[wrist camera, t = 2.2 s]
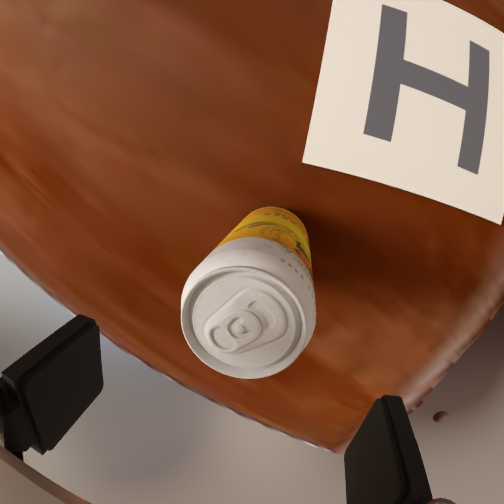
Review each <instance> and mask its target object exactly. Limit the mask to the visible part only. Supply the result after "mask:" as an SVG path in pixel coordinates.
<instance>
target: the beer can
mask: <svg viewBox="0 0 504 504" xmlns="http://www.w3.org/2000/svg"><path fill="white" fill-rule="evenodd" d="M315 323H316V305H315V294H314V284H313V274H312V265H311V256H310V247H309V239H308V234H307V231H306V228H305V226H304V225H303V223H302V222H301V220H300V219H299V218H298V217H297V216H296V215H294V214H293V213H291V212H290V211H288V210H286V209H283V208H279V207H263V208H260V209H257V210H255V211H253V212H251V213H250V214H249V215H248V216H246V217H245V218H244V219H243V220H242V221H241V222H240V223H239V224H238V225H237V226H236V227H235V229H234V230H233V231H232V232H231V233H230V234H229V235H228V236H227V237H226V238H225V239H224V240H223V241H222V242H221V243H220V244H219V245H218V246H217V247H216V248H215V249H214V250H213V251H212V252H211V253H210V254H209V255H208V256H207V257H206V258H205V259H204V260H203V261H202V262H201V263H200V265H199V266H198V267H197V268H196V269H195V270H194V271H193V272H192V274H191V275H190V276H189V278H188V280H187V282H186V284H185V286H184V289H183V293H182V298H181V325H182V330H183V334H184V336H185V339H186V341H187V343H188V345H189V346H190V348H191V349H192V351H193V352H194V353H195V354H196V356H197V357H198V358H199V359H200V360H202V361H203V362H204V363H205V364H207V365H208V366H209V367H211V368H213V369H214V370H216V371H218V372H221V373H223V374H226V375H229V376H232V377H237V378H245V379H254V378H263V377H267V376H270V375H273V374H276V373H278V372H280V371H282V370H283V369H285V368H286V367H288V366H289V365H290V364H291V363H292V362H293V361H294V360H295V359H296V358H297V357H298V355H299V354H300V353H301V351H302V350H303V349H304V348H305V347H306V345H307V344H308V342H309V340H310V339H311V337H312V334H313V331H314V328H315Z"/></svg>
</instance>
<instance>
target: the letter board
mask: <svg viewBox="0 0 504 504" xmlns="http://www.w3.org/2000/svg"><path fill="white" fill-rule="evenodd" d="M302 163H307V164H311V165H315V166H319V167H324V168H328V169H332V170H336V171H340V172H343V173H347V174H351V175H355V176H358V177H362V178H366V179H369V180H373V181H376V182H380V183H383V184H386V185H390V186H393V187H396V188H400V189H403V190H406V191H409V192H412V193H415V194H418V195H422V196H425V197H428V198H430V199H433V200H436V201H439V202H442V203H445V204H448V205H451V206H453V207H456V208H459V209H462V210H464V211H467V212H469V213H472V214H475V215H477V216H480V217H482V218H485V219H487V220H490V221H492V222H495V223H497V224H500V225H501V222H502V218H503V214H504V33H502V32H501V31H499V30H497V29H496V28H494V27H492V26H491V25H489V24H487V23H486V22H484V21H482V20H480V19H478V18H477V17H475V16H473V15H471V14H469V13H467V12H465V11H463V10H461V9H459V8H457V7H455V6H453V5H451V4H449V3H447V2H445V1H442V0H333V3H332V9H331V15H330V21H329V26H328V32H327V38H326V43H325V49H324V54H323V60H322V65H321V71H320V76H319V81H318V86H317V92H316V97H315V102H314V107H313V112H312V117H311V122H310V127H309V132H308V137H307V142H306V146H305V151H304V156H303V161H302Z"/></svg>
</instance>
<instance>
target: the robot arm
mask: <svg viewBox="0 0 504 504" xmlns="http://www.w3.org/2000/svg"><path fill="white" fill-rule="evenodd" d="M1 373H2V377H1V378H0V504H91V503H89V502H87V501H85V500H83V499H82V498H80V497H78V496H76V495H74V494H73V493H71V492H69V491H67V490H66V489H64V488H62V487H61V486H59V485H58V484H56V483H54V482H53V481H51V480H50V479H48V478H46V477H45V476H43V475H42V474H40V473H39V472H37V471H36V470H35V469H33V468H31V467H30V466H29V465H28V458H27V450H28V449H29V448H30V447H31V448H33V449H34V450H36V451H37V452H39V453H40V454H42V455H43V454H44V453H45V452H46V451H47V450H52V449H53V448H54V447H55V446H56V445H57V443H58V442H59V441H60V440H61V439H62V437H63V436H64V435H65V434H66V433H67V431H68V430H69V429H70V428H71V426H72V425H73V424H74V423H75V422H76V421H77V420H78V418H79V417H80V416H81V415H82V414H83V412H84V411H85V410H86V409H87V408H88V407H89V405H90V404H91V403H92V402H93V401H94V399H95V398H96V397H97V396H98V395H99V394H100V392H101V391H102V388H103V375H102V363H101V350H100V333H99V327H98V326H97V325H96V322H95V320H94V319H91V318H89V317H86V316H84V315H82V314H79V315H77V316H76V317H74V318H73V319H72V320H70V321H69V322H67V323H66V324H65V325H64V326H62V327H61V328H59V329H58V330H57V331H55V332H54V333H53V334H51V335H50V336H49V337H47V338H46V339H44V340H43V341H42V342H41V343H39V344H38V345H37V346H35V347H34V348H32V349H31V350H30V351H28V352H27V353H26V354H25V355H23V356H22V357H21V358H19V359H18V360H17V361H15V362H14V363H13V364H12V365H10V366H9V367H8V368H7V369H5V370H4V371H3V372H1ZM344 462H345V479H346V498H347V504H455V503H454V502H452V501H451V500H448V499H445V498H437V499H432V494H431V490H430V486H429V483H428V479H427V475H426V472H425V468H424V465H423V461H422V458H421V454H420V451H419V448H418V444H417V441H416V439H415V437H414V433H413V430H412V427H411V424H410V421H409V418H408V415H407V412H406V409H405V406H404V403H403V400H402V398H401V397H400V396H391V395H383V396H382V397H381V399H380V398H378V399H376V401H375V402H374V404H373V406H372V408H371V409H370V411H369V413H368V415H367V416H366V418H365V420H364V421H363V423H362V425H361V426H360V428H359V430H358V431H357V433H356V435H355V436H354V438H353V439H352V441H351V443H350V444H349V446H348V447H347V449H346V451H345V455H344Z"/></svg>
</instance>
